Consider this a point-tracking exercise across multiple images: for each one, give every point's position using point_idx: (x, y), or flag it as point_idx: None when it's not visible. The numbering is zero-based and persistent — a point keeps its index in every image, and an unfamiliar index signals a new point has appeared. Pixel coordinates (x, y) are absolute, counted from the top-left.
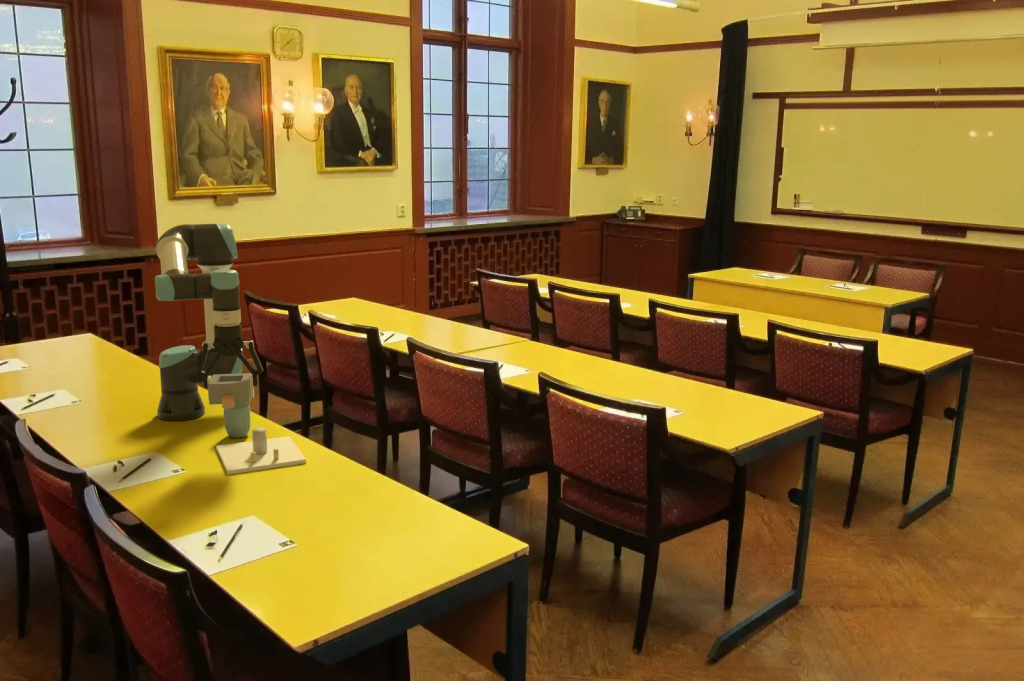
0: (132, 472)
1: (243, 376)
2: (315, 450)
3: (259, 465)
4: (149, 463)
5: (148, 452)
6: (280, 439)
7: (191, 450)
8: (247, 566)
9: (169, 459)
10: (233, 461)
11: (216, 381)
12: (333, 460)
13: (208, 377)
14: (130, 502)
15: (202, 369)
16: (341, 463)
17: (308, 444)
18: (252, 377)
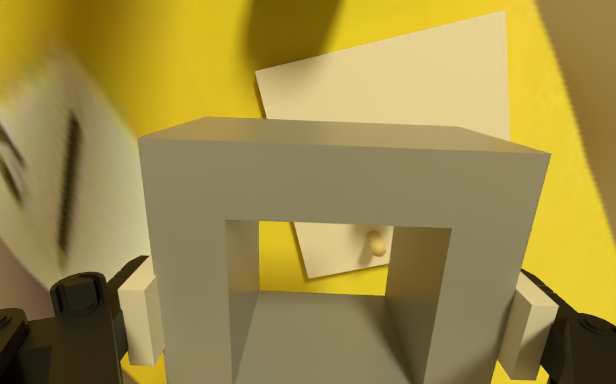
0: (67, 215)
1: (451, 270)
2: (556, 139)
3: (387, 260)
4: (86, 157)
5: (46, 56)
6: (468, 44)
7: (178, 63)
8: None
9: (133, 135)
10: None
11: (223, 379)
12: (582, 228)
13: (135, 348)
14: (130, 371)
15: (7, 361)
16: (596, 253)
17: (549, 77)
18: (529, 368)
